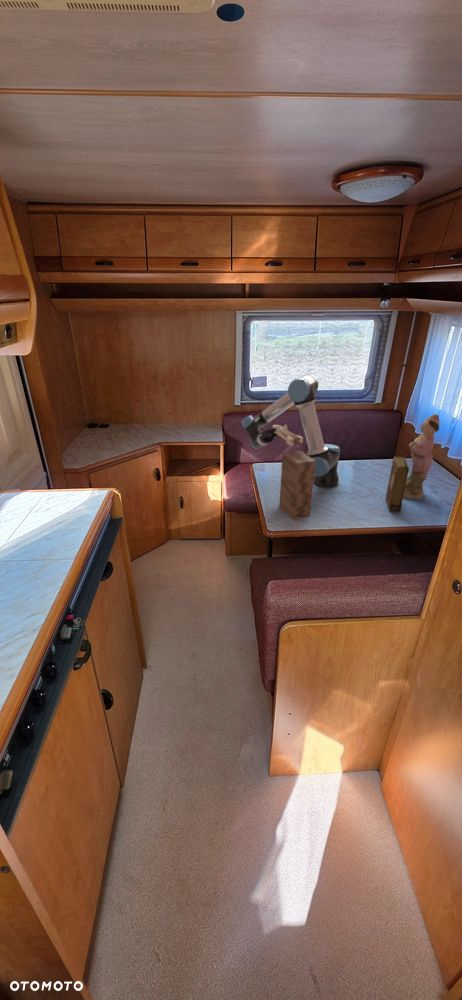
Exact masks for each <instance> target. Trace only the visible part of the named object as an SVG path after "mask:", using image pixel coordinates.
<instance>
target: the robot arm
mask: <svg viewBox="0 0 462 1000" xmlns="http://www.w3.org/2000/svg"><path fill="white" fill-rule="evenodd" d="M318 389H319V381H318V379H317V378H316V377H315V376H314V375H312V374H309V373H307V374H304V375H302V376H298V377H297V378H296V377H295V378H294V379H293V380H291V382H290V383H289V385H288V387H287V392H286V393H285V394H284V395H282V396H281V397H280V398H278V399H277V400H276V401H274V403H272V404H271V405H269V406H268V407H266V409H264V410H263V411H261V412H260V413H259V414H257V415H256V416H253V415H252V414H251V415H248V416H246V417H245V418H243V419H242V420H241V421H240V423H241V425H242V427H243V430H244V431H245V432H246V434H247V436H248V437H249V439H250V441H249V442H250V446H251V447H252V448H254V449H256V450H257V449H261V448H262V447H266V445H268V444H270V443H272V442H273V441H274V439H275V438H276V437H277V436H278V435H277V434H276V433H277V432H278V431H280V426H281V425H280V424H277V425H278V426H276V427H275V428H273V429H272V428H270V429H269V428H268V429H264V430H263V431H262V430H261V428H264V427H265V426H267V425H268V424H269V423H270V422H272V421H273V420H274V419H276V418H277V417H278V416H280V415H281V414H282V413H284V412H285V411H287V410H288V409H289V408H291V407H292V406H295V407H296V408H298V412H299V416H300V420H301V424H302V428H303V431H304V435H305V439H306V443H307V447H308V451H307V454H306V455H308V456H309V457H311V458H312V459H314V460H315V461H316V463H315V472H314V482H313V485H316V486H319V487H322V488H333V487H337V486H338V485H339V481H340V479H339V474H338V467H339V458H340V453H341V451H340V450H341V449H340V447H339V446H338V445H336V444H329V443H324V438H323V434H322V430H321V427H320V423H319V418H318V414H317V410H316V405H315V402H316V400H317V398H316V393H317V391H318ZM282 427H283V428H285V429H286V430H288V424H284V425H283V426H282ZM288 431H289V430H288Z"/></svg>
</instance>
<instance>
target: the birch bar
mask: <svg viewBox="0 0 462 1000" xmlns="http://www.w3.org/2000/svg"><path fill="white" fill-rule="evenodd" d="M278 425H279V424H273V425H272V427H271V429H273V428H275V427H276V426H278ZM276 434H277V436H278V437H280V438H282V439H283V440H284V441H286V442H285V443H286V445H288V446H299V445H303V443H304V437H303V436H301V435H299V434H298V435H296V434H295V433H293V432H291V431H290V430H286V429H285V428H283V427H282V426H281V425H280V431H278V432H277V433H276Z"/></svg>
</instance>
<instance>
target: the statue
mask: <svg viewBox="0 0 462 1000" xmlns="http://www.w3.org/2000/svg"><path fill="white" fill-rule="evenodd" d="M440 426H441V425H440V416H439V415H438V414H431V415H430V416H429V417H427V418H425V419H424V420H423V422H422V423H421V424H420V431H421V434H420V435H419V436H418V437H417V438H415V439H414V441H411V442H409V444H408V447H409V449H410V456H411V458H412V467H411V471H410V475H408V476H407V481H406V486H405V491H404V495H403V499H405V498H407V500H413V499H416V500H420V498H421V499H422V498H423V497H424V493H425V492H424V489H423V487H424V486H423V484H424V482H425V480H426V479H427V476H428V474H429V472H430V469H431V466H432V463H433V458H434V455H433V448H434V444H435V433H437V432H438V431H439V430H440Z"/></svg>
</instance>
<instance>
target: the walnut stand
mask: <svg viewBox="0 0 462 1000" xmlns="http://www.w3.org/2000/svg"><path fill="white" fill-rule="evenodd" d="M281 459H282V461H281V471H280V473H281V475H280V486H279V487H280V488H279V489H280V490H279V504H278V506H279V508H281V510H283V512H285V513H286V514H287V516H289V517H290V518H291V520H295V519H300V518H305V517H311V512H312V511H311V510H312V499H313V489H314V483H313V482H314V472H315V463H316V461H315V460H314V459H312V458H311V457H309V456H308V455H307V454H306V453H305V452H303V451H302V450H295V451H287V452H282V458H281Z"/></svg>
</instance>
